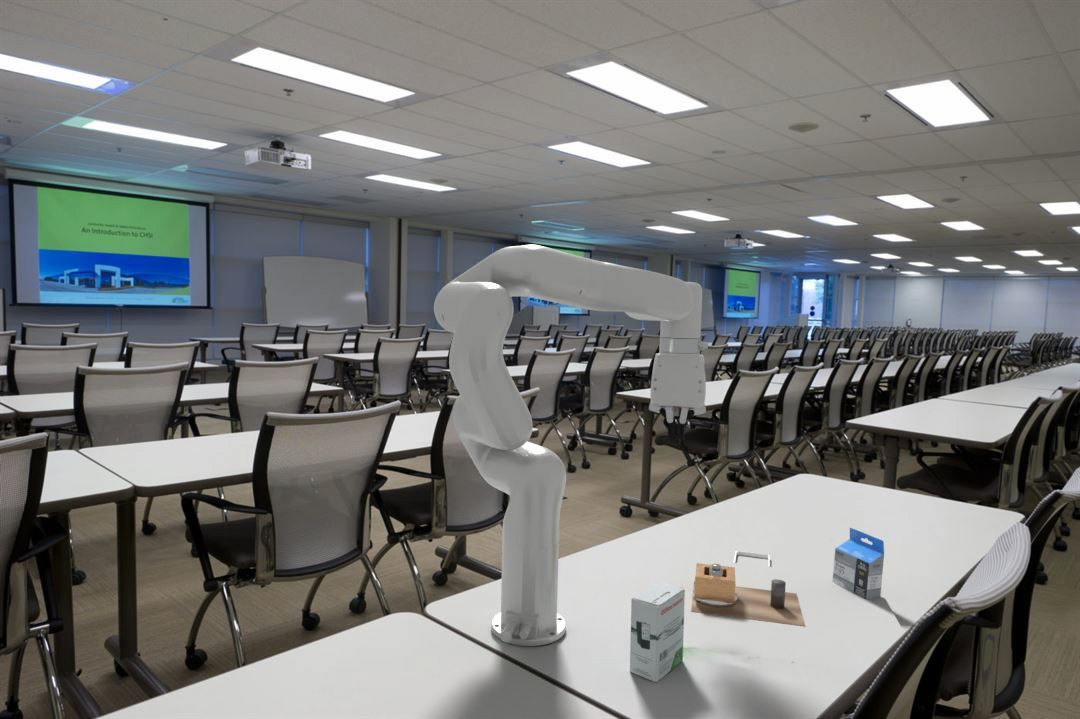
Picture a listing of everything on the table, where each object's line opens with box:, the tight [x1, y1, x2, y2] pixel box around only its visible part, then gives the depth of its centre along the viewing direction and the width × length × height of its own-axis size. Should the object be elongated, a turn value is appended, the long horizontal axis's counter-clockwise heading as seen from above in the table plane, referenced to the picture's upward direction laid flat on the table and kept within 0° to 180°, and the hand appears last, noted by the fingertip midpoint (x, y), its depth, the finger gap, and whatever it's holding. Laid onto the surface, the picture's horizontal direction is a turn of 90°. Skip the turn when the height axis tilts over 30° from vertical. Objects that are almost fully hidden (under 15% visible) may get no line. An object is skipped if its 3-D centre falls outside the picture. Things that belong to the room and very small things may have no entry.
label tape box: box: [832, 527, 885, 600], centre depth 136 cm, size 9×4×12 cm, turn 21°
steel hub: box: [692, 563, 737, 608], centre depth 130 cm, size 8×8×6 cm
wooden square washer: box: [694, 562, 736, 603], centre depth 130 cm, size 7×7×4 cm
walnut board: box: [690, 578, 806, 627], centre depth 129 cm, size 14×19×6 cm
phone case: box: [733, 550, 771, 567], centre depth 150 cm, size 7×1×15 cm
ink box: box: [629, 581, 686, 683], centre depth 108 cm, size 9×5×12 cm, turn 141°
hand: (675, 442), depth 135 cm, fingers closed
